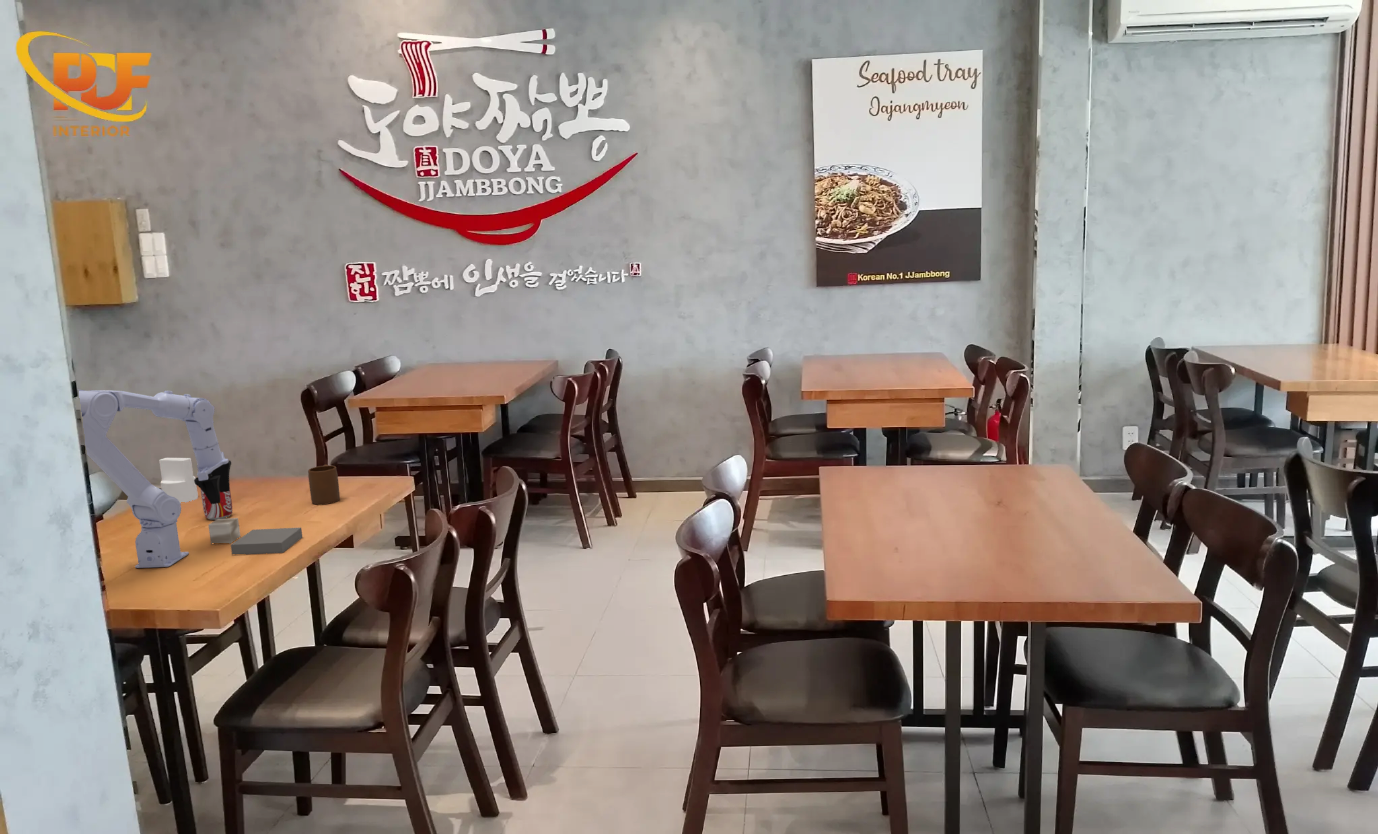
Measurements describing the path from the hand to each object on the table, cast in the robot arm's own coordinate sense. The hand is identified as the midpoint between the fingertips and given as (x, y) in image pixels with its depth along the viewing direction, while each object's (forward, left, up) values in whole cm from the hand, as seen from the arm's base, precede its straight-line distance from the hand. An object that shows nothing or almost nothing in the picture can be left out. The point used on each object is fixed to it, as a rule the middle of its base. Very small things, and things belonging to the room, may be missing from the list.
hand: (220, 497), depth 252 cm
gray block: (-1, 0, -11) cm, 11 cm away
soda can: (+21, +12, -11) cm, 26 cm away
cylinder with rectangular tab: (+42, +33, -11) cm, 54 cm away
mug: (+35, -12, -11) cm, 39 cm away
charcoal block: (-7, -13, -11) cm, 19 cm away
